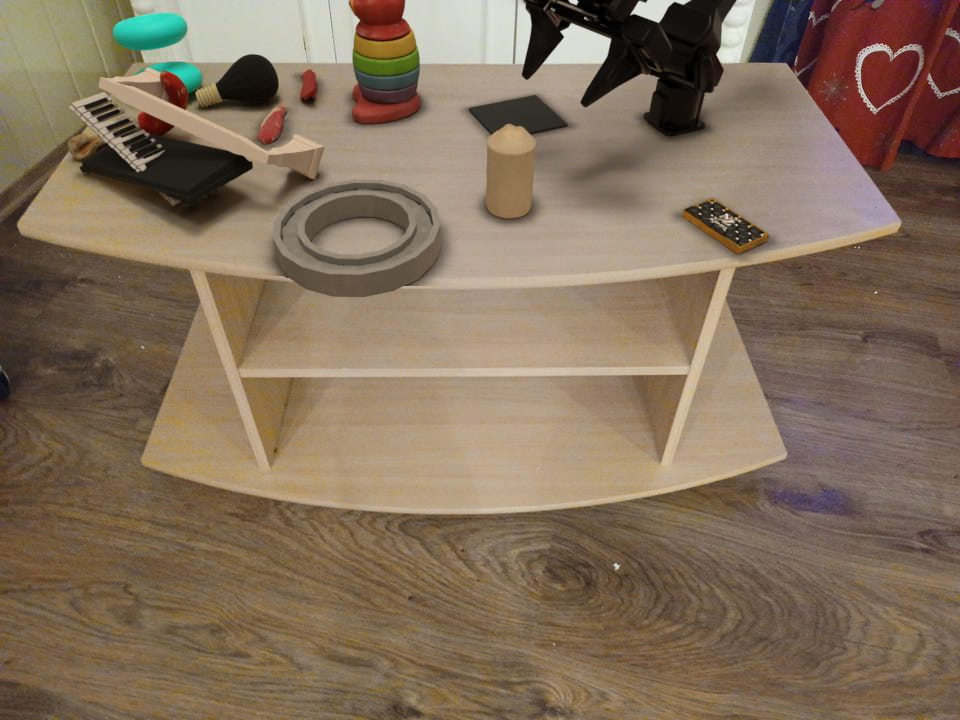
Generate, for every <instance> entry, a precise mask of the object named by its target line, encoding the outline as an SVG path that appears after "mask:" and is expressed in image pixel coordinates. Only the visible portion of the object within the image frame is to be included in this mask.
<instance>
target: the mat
mask: <svg viewBox="0 0 960 720" xmlns="http://www.w3.org/2000/svg"><path fill="white" fill-rule="evenodd" d="M468 111H469V112H470V113H471V114H472V116H474V118H475V119H476V120H477V121H478V122H479V123H480V124H481V125H482V126H483V128H485V129H486V131H487V132H488V133H489V134H490V136H491V135H492V134H493V133H495V132H496V131H498V130H500V129H502V128H503V127H504V126H505V125H507V124H512V125H513V126H515V127H518V126H521V127H523V128H524V129H525V130H526V131H527V132H528V133H529V134H530V135H534V134H537V133H541V132H547V131H551V130H552V131H553V130H555V129H556V130H557V129H561V128H565V127H568V126H569V124H568V123H567V122H566V121H565V120H564V119H563V117H561V116H560V115H558V113H556V112H555V110H553V109H552V108H551V107H549V105H547V104H546V103H545V101H544V100H542V99H541V98H540V97H539V96H538V95H536V94H533V95H528V96H523V97H518V98H512V99H507V100H503V101H497V102H492V103H487V104H482V105H477V106H472V107H468Z"/></svg>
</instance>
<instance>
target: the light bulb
mask: <svg viewBox="0 0 960 720" xmlns="http://www.w3.org/2000/svg"><path fill="white" fill-rule="evenodd" d="M278 76H279V75H278V73H277V70H276V69H275V66H274V65H273V63H272V62H271V61H270V60H269V59H268V58H267V57H265V56H263V55H261V54H255V53H249V54H245V55H243V56H241V57H240V58H237V60H235V62H233V63H232V64H231V66H230V67H229V68H228V69H227V70H226V72H225V73H224V74H223V75H222V76H221V78H220V79H219V80H217V82H212V83H210V85H207V86H203V87H200V89H199V88H197V89H196V90H195V98H196V101H197V102H198V103H199V105H200V106H201V108H208V107H209V106H210V107H211V106H212V105H216V104H219V103H222V102H223V103H224V102H225V101H232V102H238V103H245V104H264V103H266V102H269V101H271V100H272V99H273V98H274V97H275V96H276V95H277V93H278V90H279V86H280V85H279V83H280V82H279V77H278Z"/></svg>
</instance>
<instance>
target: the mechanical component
mask: <svg viewBox="0 0 960 720" xmlns="http://www.w3.org/2000/svg"><path fill="white" fill-rule="evenodd" d="M353 218H378V219H381V220H387V221H390V222H392V223H394V224H396V225H398V226H399V227H402V229H403V230H404V231H405V233H404V234H403V235H402V236H401V237H399V239H397V240H396V241H395V242H394V243H391V244H390V245H388V246H386V247H383V248H381V249H378V250H376V251H371V252H365V253H360V254H356V253H355V254H354V253H353V254H351V253H350V254H349V253H344V254H343V253H341V254H340V253H337V252H333V251H330V250H325V249H322V248H321V247H319V246H318V245H316V244H315V243H313V242H312V241H313V239H314V237H316V235H317V234H318V233H320V232H321V231H322V230H323V229H325V228H326V227H328V226H330V225H332V224H335V223H337V222H339V221H342V220H343V221H344V220H349V219H353ZM441 227H442V226H441V220H440V216H439V210H438V208H437V206H436V205H435V204H434V203H433V202H432V200H430V199H429V198H428V197H427V196H426V194H424V193H422V192H420V191H418V190H416V189H415V188H413V187H410V186H408V185H406V184H403V183H397V182H393V181H389V180H384V179H363V178H362V179H359V178H358V179H357V178H355V179H349V180H348V179H347V180H342V181H335V182H331V183H326V184H324V185H321V186H318V187H316V188H313V189H310V190H307V191H304V192H303V193H302V194H300V195H299V196H296V198H294V199H293V200H291V201H290V202H289V203H287V204H286V205H284V207H283V208H282V209H281V211H280V213H278V215H277V217H276V218H275V220H274V221H273V231H272V242H273V246H274V249H275V254H276V258H277V261H278V264H279V265H280V267H281V268H282V270H283V272H284V274H285V275H286V277H287V278H288V279H290V280H291V281H292V282H294V283H296V284H297V285H298V286H300V287H302V288H303V289H305V290H306V291H311V292H313V293H317V294H322V295H324V296H325V295H326V296H329V297H333V298H367V297H371V296H375V295H376V296H377V295H381V294H386V293H391V292H395V291H397V290H398V289H401V288H402V287H405V286H408V285H409V284H411V283H413V282H416V281H418V280H419V279H420V278H421V277H423V275H424V274H425V273H426V272H428V271H429V270H430V269H431V268H432V267H433V266H434V265H435V264H436V262H437V259H438V257H439V255H440V251H441V248H442V229H441Z"/></svg>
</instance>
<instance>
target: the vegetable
mask: <svg viewBox="0 0 960 720" xmlns="http://www.w3.org/2000/svg"><path fill="white" fill-rule="evenodd" d="M160 80H161V82H162V84H163V86H164V88H165V90H166V92H167V93H168V95H169V98H170V100H169V103H171V104H173V105H175V106H177V107H179V108H182V109H184V110H186V109H187V105H188V102H189V93H188V91H187V88H186V86H185V84H184V83H183V82H182V80H181V79H180V78H179V77H178V76H177V75H175V74H173V73H170V72H168V71H162V72H161V74H160ZM186 111H187V110H186ZM138 114H139V116H138V121H139V126H140V127H139V128H138V129H136V130H137V131H141V130H144V131H145V132H146V133H147V132H148V133H150V134H155V135H159V136H165V135H166V134H167V133H169V132H170V131H172V130H173V129H175V127H176V126H174V125H171V124H169V123H167V122H165V121H163V120H161V119H158V118H156V117H154V116H152V115H150V114H148V113H145V112H143V111H142V112H140V113H138Z"/></svg>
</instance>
